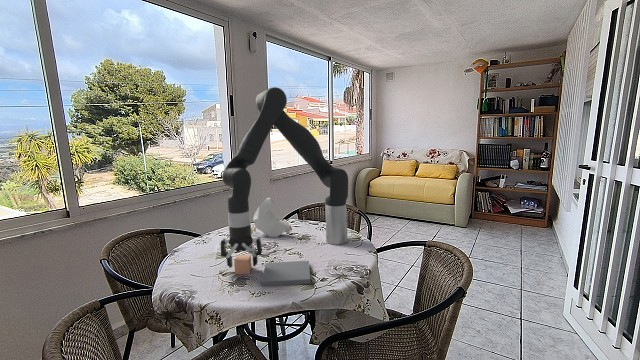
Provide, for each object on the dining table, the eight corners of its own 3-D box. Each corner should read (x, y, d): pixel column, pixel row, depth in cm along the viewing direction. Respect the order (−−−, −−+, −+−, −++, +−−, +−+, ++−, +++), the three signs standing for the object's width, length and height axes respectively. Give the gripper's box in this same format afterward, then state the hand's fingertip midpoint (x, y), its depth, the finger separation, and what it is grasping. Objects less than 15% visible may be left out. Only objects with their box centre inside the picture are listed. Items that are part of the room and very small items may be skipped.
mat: (309, 264, 112) (308, 260, 112) (310, 283, 99) (310, 279, 98) (266, 266, 111) (266, 262, 111) (261, 286, 98) (261, 281, 97)
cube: (251, 267, 112) (250, 254, 111) (249, 273, 107) (248, 260, 106) (238, 267, 111) (237, 255, 111) (235, 274, 106) (234, 261, 106)
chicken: (253, 244, 144) (291, 234, 139) (239, 207, 142) (276, 196, 137) (260, 239, 151) (295, 229, 146) (246, 203, 149) (282, 192, 144)
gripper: (261, 219, 110) (263, 260, 113) (222, 220, 109) (225, 262, 112) (258, 225, 103) (261, 269, 105) (216, 227, 102) (220, 271, 105)
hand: (242, 266), depth 109 cm, fingers open, 8 cm apart
